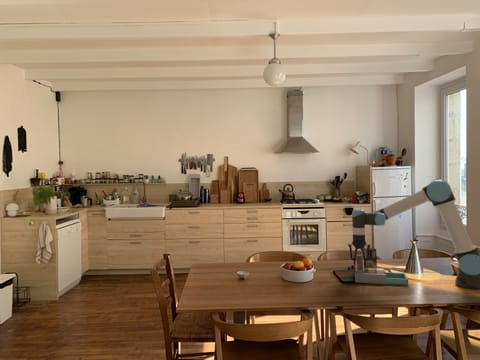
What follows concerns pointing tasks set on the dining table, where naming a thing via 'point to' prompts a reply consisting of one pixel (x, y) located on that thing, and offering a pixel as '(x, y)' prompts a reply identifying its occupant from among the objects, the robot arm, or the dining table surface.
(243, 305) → the dining table surface
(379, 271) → the cream cube
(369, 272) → the peach cube block
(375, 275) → the slot board
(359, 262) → the brown block with tab
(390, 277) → the chute tray
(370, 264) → the coffee box
